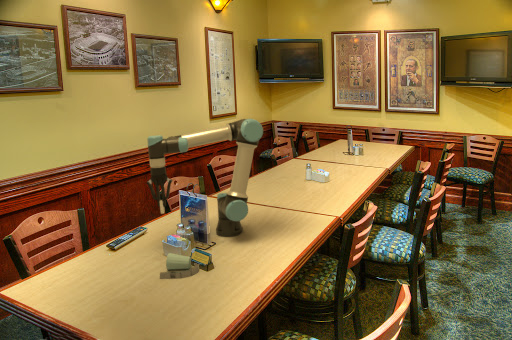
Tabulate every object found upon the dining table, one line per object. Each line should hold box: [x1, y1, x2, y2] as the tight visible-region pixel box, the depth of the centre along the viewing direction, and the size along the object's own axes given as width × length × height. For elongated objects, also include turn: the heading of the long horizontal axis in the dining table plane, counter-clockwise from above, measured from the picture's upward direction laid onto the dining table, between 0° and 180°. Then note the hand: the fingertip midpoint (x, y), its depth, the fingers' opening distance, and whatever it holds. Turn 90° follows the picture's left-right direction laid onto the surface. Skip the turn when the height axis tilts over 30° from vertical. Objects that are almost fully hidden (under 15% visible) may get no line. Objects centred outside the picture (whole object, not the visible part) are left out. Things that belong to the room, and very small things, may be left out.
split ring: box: [159, 263, 200, 280], centre depth 206 cm, size 16×18×2 cm
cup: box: [165, 252, 192, 271], centre depth 207 cm, size 8×8×10 cm
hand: (162, 212), depth 223 cm, fingers closed
